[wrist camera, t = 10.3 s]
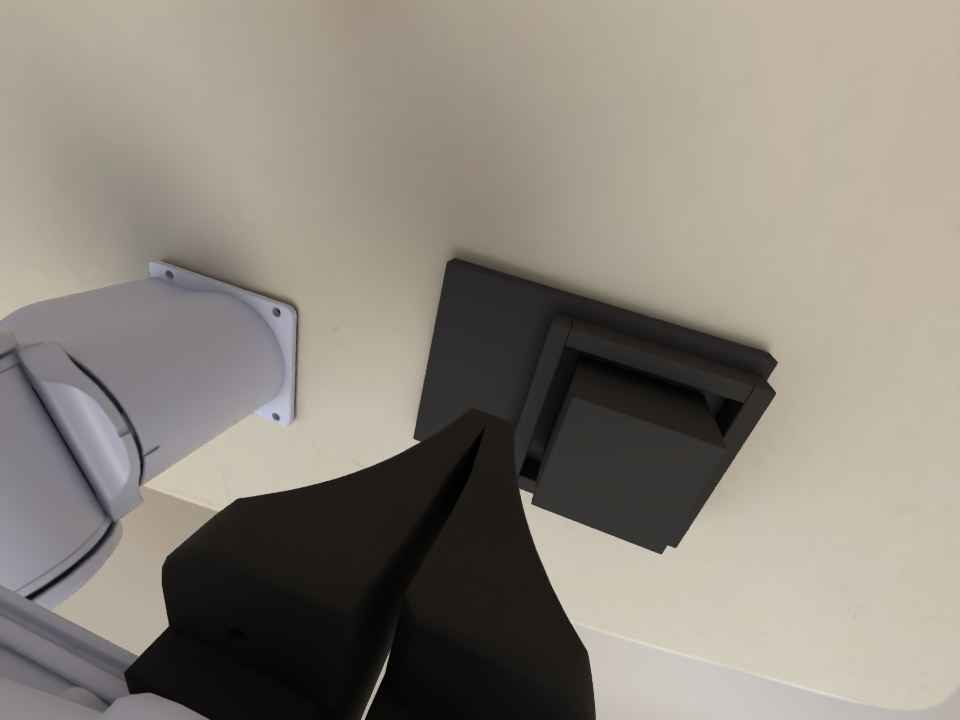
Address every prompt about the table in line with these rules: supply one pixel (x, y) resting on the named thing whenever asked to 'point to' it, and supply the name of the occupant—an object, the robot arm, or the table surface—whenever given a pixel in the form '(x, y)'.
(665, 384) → the black square block
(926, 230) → the table surface
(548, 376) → the base pad
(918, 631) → the table surface
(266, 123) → the table surface
